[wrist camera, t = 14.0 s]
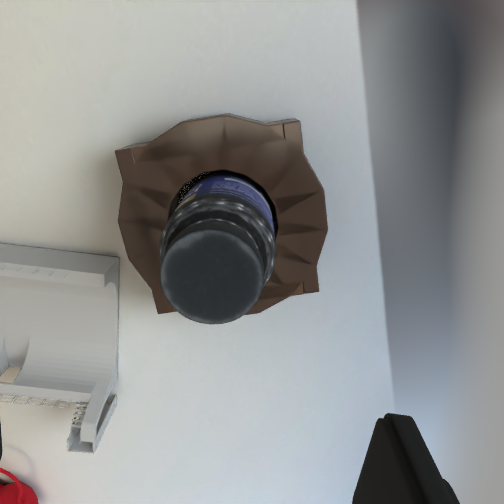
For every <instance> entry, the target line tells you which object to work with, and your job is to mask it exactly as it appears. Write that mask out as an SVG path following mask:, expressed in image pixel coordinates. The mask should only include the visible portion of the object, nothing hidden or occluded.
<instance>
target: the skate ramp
mask: <svg viewBox="0 0 504 504" xmlns="http://www.w3.org/2000/svg"><path fill="white" fill-rule="evenodd" d="M118 303H119V257H111V256H103V255H95V254H86V253H78V252H70V251H61V250H53V249H45V248H36V247H28V246H20V245H11V244H3V243H0V376H1V375H2V374H3V373H4V371H5V370H6V369H7V368H8V367H15V368H22V369H21V371H20V373H19V375H18V376H17V378H16V379H15V380H14V382H13V383H3V382H0V394H1V395H11V396H15V397H16V396H20V397H30V398H31V399H32V398H39V399H48V400H58V401H59V402H60V401H67V402H76V403H78V404H76V407H77V408H75V414H73V416H74V419H72V422H73V423H72V424H71V427H72V428H71V432H70V434H69V438H68V439H67V448H68V451H73V452H83V453H93V454H94V453H95V450H96V448H97V446H98V444H99V442H100V439H101V437H102V435H103V433H104V431H105V429H106V426H107V424H108V422H109V420H110V418H111V416H112V413H113V411H114V409H115V407H116V395H115V397H114V399H113V401H112V403H111V404H109V403H105V402H106V400H107V398H108V396H109V394H110V392H111V390H112V388H113V386H114V384H115V382H116V380H117V369H118ZM15 397H14V398H15ZM1 398H3V397H1ZM1 398H0V399H1ZM14 398H13V399H14ZM17 398H18V397H17ZM17 398H16V399H15V400H21V399H17ZM30 398H29V399H30ZM7 399H12V398H7ZM26 401H27V402H28V401H29V400H26ZM30 401H31V400H30ZM30 401H29V402H30ZM43 401H44V400H43ZM43 401H42V402H43ZM45 401H46V400H45ZM45 401H44V403H49V402H45ZM58 401H57V402H58ZM2 402H7V401H2ZM11 402H12V401H11ZM27 402H26V403H27ZM29 402H28V403H29ZM35 402H40V401H35ZM13 403H17V402H13ZM26 403H21V404H26ZM44 403H43V404H44ZM80 403H86V404H87V405H84V404H80ZM41 404H42V403H41ZM41 404H40V405H39V406H45V405H43V404H42V405H41ZM54 404H55V405H56V404H57V403H54ZM58 404H59V403H58ZM58 404H57V405H58ZM71 404H72V403H71ZM71 404H70V405H71ZM30 405H35V404H30ZM63 405H68V404H63ZM49 407H55V406H49ZM56 407H57V406H56ZM69 407H70V406H69ZM79 407H83V408H85V409H79ZM58 408H63V407H58ZM67 409H69V408H67ZM77 412H82V414H77ZM76 417H80V418H79V419H76ZM75 422H77V423H76V424H75ZM73 428H74V429H73Z"/></svg>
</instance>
